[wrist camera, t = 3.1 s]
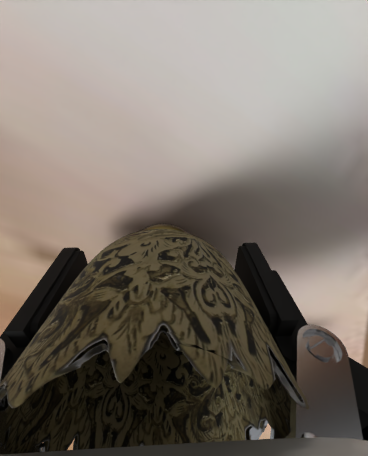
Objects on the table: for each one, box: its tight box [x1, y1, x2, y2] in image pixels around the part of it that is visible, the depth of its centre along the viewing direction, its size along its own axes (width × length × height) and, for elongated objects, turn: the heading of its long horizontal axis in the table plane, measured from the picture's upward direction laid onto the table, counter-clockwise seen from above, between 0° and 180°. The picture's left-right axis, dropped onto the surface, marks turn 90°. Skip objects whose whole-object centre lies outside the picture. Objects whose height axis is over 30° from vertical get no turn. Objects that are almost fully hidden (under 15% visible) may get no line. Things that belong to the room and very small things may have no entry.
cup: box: [0, 224, 309, 454], centre depth 8 cm, size 8×7×8 cm
